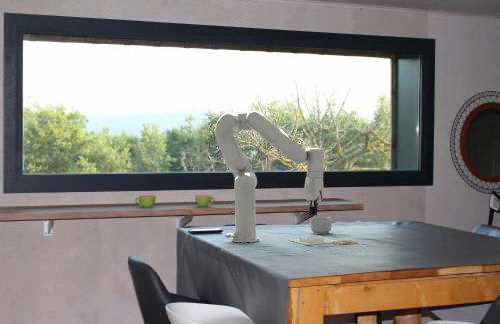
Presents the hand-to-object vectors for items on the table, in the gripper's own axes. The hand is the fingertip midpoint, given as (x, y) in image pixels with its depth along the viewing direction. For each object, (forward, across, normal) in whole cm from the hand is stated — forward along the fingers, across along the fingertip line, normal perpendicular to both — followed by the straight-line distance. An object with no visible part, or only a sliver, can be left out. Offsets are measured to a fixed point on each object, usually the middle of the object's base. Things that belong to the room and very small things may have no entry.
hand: (313, 215), depth 307 cm
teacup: (+12, -23, +20) cm, 33 cm away
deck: (+11, -2, -1) cm, 11 cm away
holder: (+12, +11, +10) cm, 19 cm away
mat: (+12, -1, +1) cm, 12 cm away
